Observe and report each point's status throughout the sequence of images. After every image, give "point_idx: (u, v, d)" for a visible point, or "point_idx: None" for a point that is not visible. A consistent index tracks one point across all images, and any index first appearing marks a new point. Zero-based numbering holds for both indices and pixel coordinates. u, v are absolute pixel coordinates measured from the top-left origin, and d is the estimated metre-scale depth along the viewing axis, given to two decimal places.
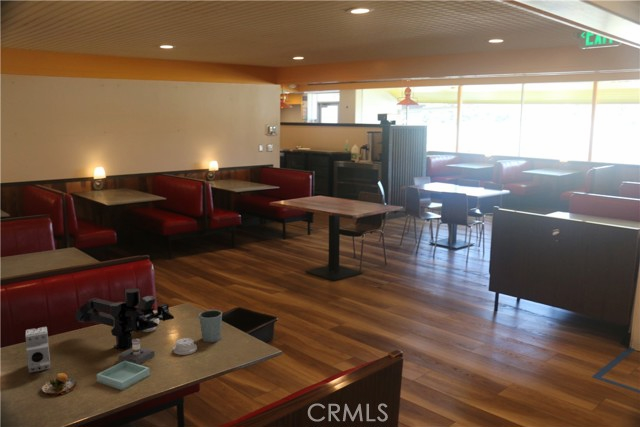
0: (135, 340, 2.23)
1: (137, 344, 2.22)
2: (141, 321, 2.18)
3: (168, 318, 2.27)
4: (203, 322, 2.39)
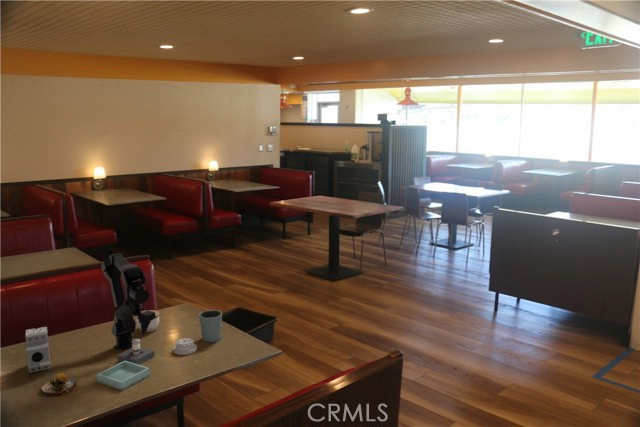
0: (135, 340, 2.23)
1: (137, 344, 2.22)
2: None
3: None
4: (203, 322, 2.39)
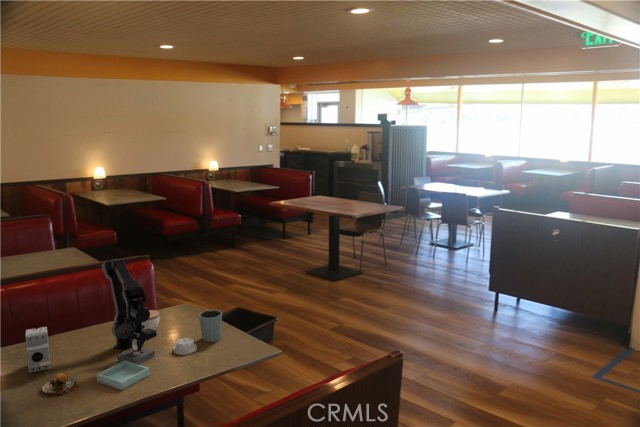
0: (135, 340, 2.23)
1: None
2: None
3: None
4: (203, 322, 2.39)
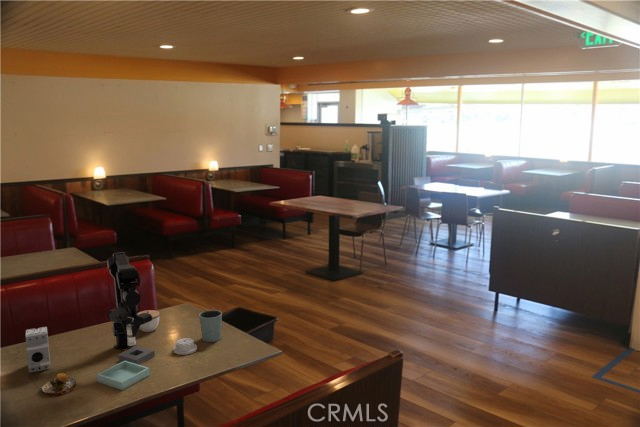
0: (130, 325, 2.15)
1: None
2: None
3: None
4: (203, 322, 2.39)
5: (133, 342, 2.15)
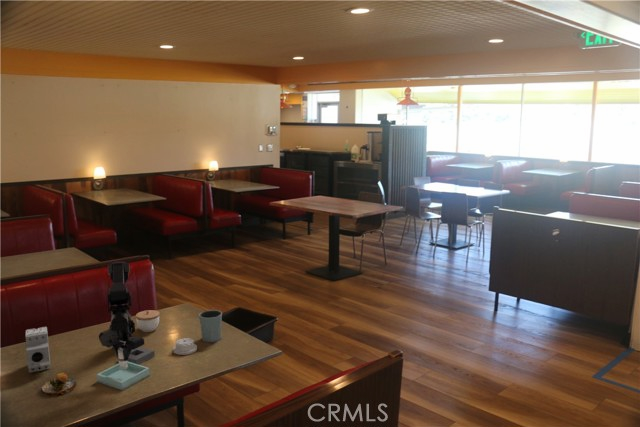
0: None
1: None
2: None
3: None
4: (203, 322, 2.39)
5: (125, 366, 2.05)
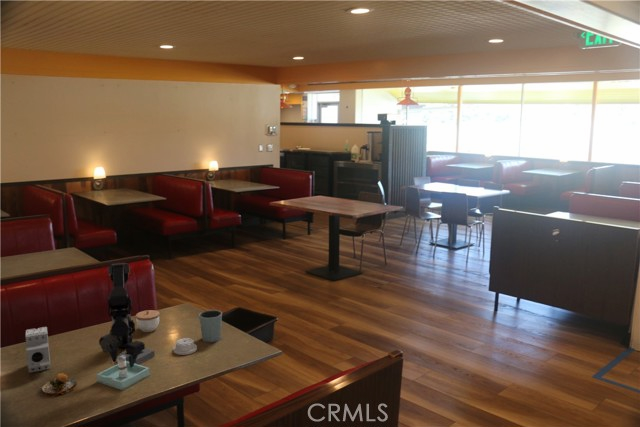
0: (120, 357, 2.05)
1: (122, 361, 2.04)
2: None
3: None
4: (203, 322, 2.39)
5: (125, 374, 2.06)
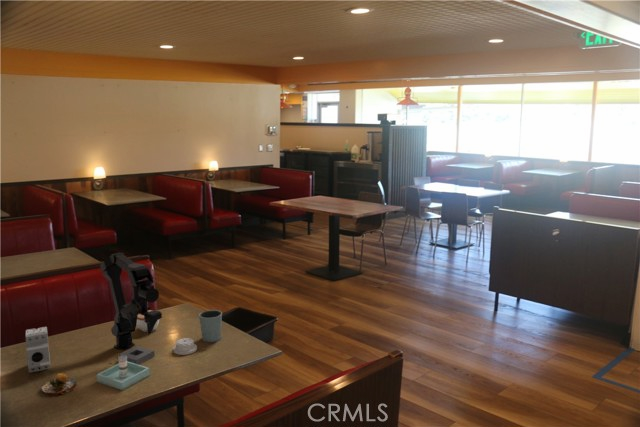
0: (122, 357, 2.05)
1: (124, 361, 2.04)
2: None
3: None
4: (203, 322, 2.39)
5: (125, 374, 2.06)
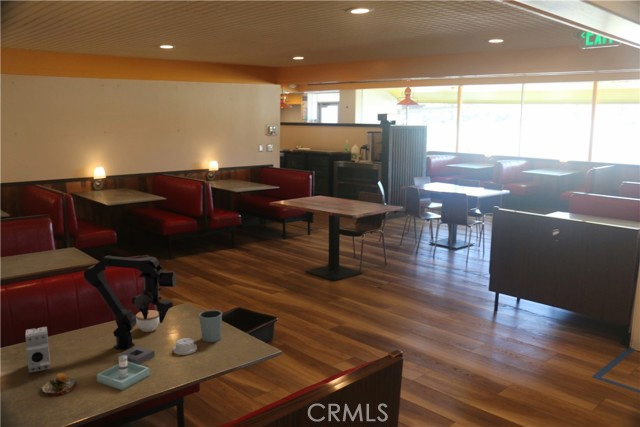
0: (122, 356, 2.06)
1: (124, 361, 2.05)
2: None
3: None
4: (203, 322, 2.39)
5: (125, 374, 2.06)
